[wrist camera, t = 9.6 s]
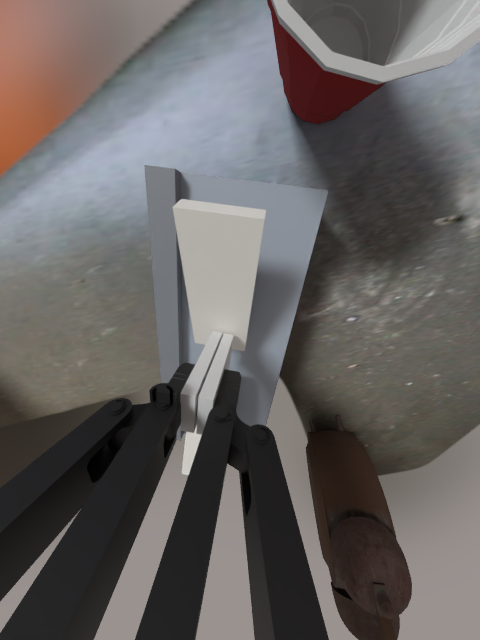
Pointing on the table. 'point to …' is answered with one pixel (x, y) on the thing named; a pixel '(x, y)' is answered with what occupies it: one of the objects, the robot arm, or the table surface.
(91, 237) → the table surface
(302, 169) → the table surface
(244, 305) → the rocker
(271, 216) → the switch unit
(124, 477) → the robot arm
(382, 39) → the plastic cup
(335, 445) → the alarm clock
